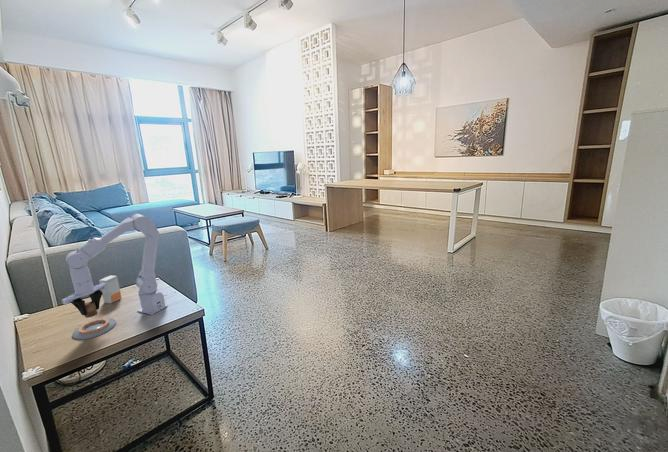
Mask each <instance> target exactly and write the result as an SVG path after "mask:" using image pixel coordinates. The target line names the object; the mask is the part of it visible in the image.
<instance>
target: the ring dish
mask: <svg viewBox="0 0 668 452" xmlns="http://www.w3.org/2000/svg"><path fill="white" fill-rule="evenodd" d="M115 326H117V320H116V319H115V318H111V317H103V318H96V319H92V320H91V321H88V322H85V323H83V324H82V325H80V326H79V327H77V328H75V330H74V331H73V332H72V334H71V336H72V338H73V339H75V340H79V341H80V340H89V339H92V338H96V337H99V336H101V335H103V334H105V333H108V332H109V331H111V330H112V329H114V328H115Z"/></svg>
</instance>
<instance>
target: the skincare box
mask: <svg viewBox="0 0 668 452" xmlns="http://www.w3.org/2000/svg"><path fill="white" fill-rule="evenodd" d="M98 283H99V284H102V283H104V284H106V286H107V288H106V289H102V290H100V291H102V293H103V294H102V296H101V297H102V301H103V303H104V304H112V303H114V302H117V301H118V300H120V299H122V294H121V289H120V283H119V279H118V275H111V274H110V275H108V276H105V277H103V278H102V279H99V280H98Z"/></svg>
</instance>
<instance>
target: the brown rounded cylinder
mask: <svg viewBox="0 0 668 452" xmlns="http://www.w3.org/2000/svg"><path fill="white" fill-rule="evenodd" d="M85 309H86V312H87V315H85V316H84V318H86V319H88V318H93V317H95V316H97V315H98V310H97V309H96V305H95V302H94V301H92V300H91V301H87V302H85Z"/></svg>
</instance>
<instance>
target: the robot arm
mask: <svg viewBox="0 0 668 452" xmlns="http://www.w3.org/2000/svg"><path fill="white" fill-rule="evenodd" d="M136 229H137V230H138V231H139V232H141V234H143V235H144V236H145V237H144V245H143V253H142V260H141V268H140V269H141V270H140V271H139V273H138V275H137V278H136V280H135V285H136V286H137V288H139V290H138V291H137V292H138V297H139V302H140V307H141V308H139V309H137V312H139V313H144V314H147V315H154V314H156V313H157V312H160V311H162V310H163V309H165V308H166V307H168V305H167V304H166V303H165V302H166V301H165V296H164V294H163V293H162V292H160V291H159V290H158V283H157V275H156V272H155V270H156V262H157V261H156V260H157V253H158V246H159V238H160V232H159V229H158V228H157V226H156V225H155V222H154V221H153V220H152V219H151V218H150V217H148V216H146V215H143V214H141V213H134V214H132V215H131V216H129V217H127V218H125V219H123V220H122V221H121V222H120V223H118V224H117V225H116V226H114V227H113V228H111V229H110V230H109V231H108V232H106V233H105V234H103V235H102V236H101V237H93V238H92V239H91V238H89V239H87V242H86V243H85V244H83V245H81V246H80V247H76V248H75V249H74V250H73V251H70V252H69V253H68V254H66V256H65V262H66V263H67V265H68V270H69V274H70V278H71V282H72V285H73V289H74V293H72V294H70V295H68V296H66V297H65V298H62V299H61V302H62V305H66V306H67V305H70V303H71V305H73V306H74V307H75V308H76V309H77V310H78V312H79V313H80V314H81V315H82V316H84V317H85V315H87V312H86V309H85V303H86V300H83V299H82V298H85V297H87V296H89V298H90V300H91V301H94V302H95V305H96V309H97V311H98V310H99V309H100V304H101V303H100V302H101V298H102V297H103V296H102V294H103V293H102V291H101V290H102V289H106V288H107V286H106V284H104V283H102V284H100V283H99V284H96V285H94V282H93V279H92V275H91V271H90V267H88V262H89V260H92V259H93V258H94V257H96V256H97V255H99V254H100V253H101V252H103V251H105V250H106V249H107V246H108V244H109V243H110V242H113V240H115V239H117V238H119V237H120V236H122V235H123V234H124V233H126V232H127V233H128V232H135V231H136Z"/></svg>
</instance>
